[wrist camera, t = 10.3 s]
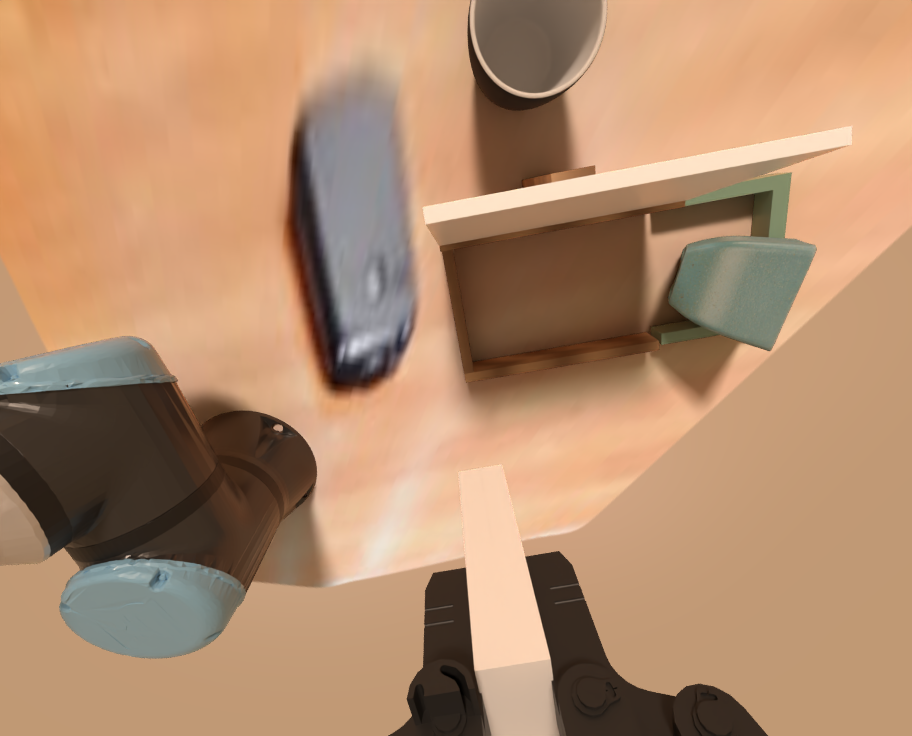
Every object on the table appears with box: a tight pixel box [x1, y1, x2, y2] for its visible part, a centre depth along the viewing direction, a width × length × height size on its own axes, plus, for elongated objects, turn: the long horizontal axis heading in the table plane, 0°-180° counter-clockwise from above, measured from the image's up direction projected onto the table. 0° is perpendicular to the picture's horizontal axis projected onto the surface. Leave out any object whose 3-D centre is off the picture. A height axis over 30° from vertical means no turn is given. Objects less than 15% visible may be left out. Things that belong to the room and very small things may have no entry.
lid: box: [423, 126, 852, 246], centre depth 27 cm, size 20×14×1 cm
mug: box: [468, 0, 607, 111], centre depth 32 cm, size 12×9×10 cm
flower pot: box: [668, 236, 817, 351], centre depth 39 cm, size 9×9×9 cm
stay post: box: [522, 166, 595, 188], centre depth 35 cm, size 3×2×12 cm, turn 100°
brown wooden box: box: [440, 201, 685, 383], centre depth 41 cm, size 20×15×8 cm
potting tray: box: [651, 172, 792, 345], centre depth 42 cm, size 12×14×2 cm
